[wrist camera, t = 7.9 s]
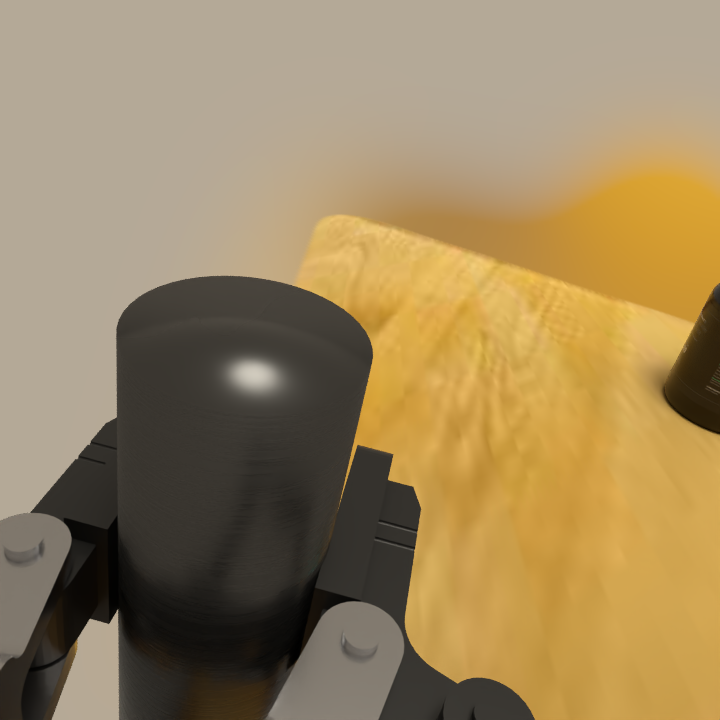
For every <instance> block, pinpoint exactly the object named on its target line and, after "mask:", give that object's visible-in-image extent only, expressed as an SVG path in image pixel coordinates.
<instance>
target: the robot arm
mask: <svg viewBox="0 0 720 720" xmlns="http://www.w3.org/2000/svg"><path fill="white" fill-rule="evenodd" d="M392 458H393V454H390V453H387V452H383V451H379V450H375V449H372V448H368V447H364V446H360V445H358V446H357V449H356V452H355V455H354V459H353V462H352V465H351V469H350V472H349V475H348V479H347V482H346V485H345V489H344V492H343V495H342V499H341V502H340V506H339V509H338V512H337V516H336V520H335V525H334V529H333V533H332V538H331V542H330V546H329V550H328V553H327V556H326V558H325V560H324V562H323V564H322V566H321V569H320V572H319V576H318V579H317V582H316V586H315V590H314V594H313V598H312V603H311V607H310V612H309V616H308V621H307V625H306V629H305V634H304V638H303V643H302V647H301V652H300V656H299V659H298V661H297V663H296V664H295V666H294V668H293V670H292V672H291V674H290V675H289V677H288V679H287V681H286V683H285V685H284V686H283V688H282V690H281V692H280V694H279V696H278V697H277V699H276V701H275V703H274V705H273V707H272V708H271V710H270V712H269V714H268V716H267V718H266V719H265V720H535V719H534V717H533V715H532V713H531V711H530V709H529V708H528V706H527V705H526V703H525V702H524V701H523V700H522V699H521V698H520V696H519V695H517V694H516V693H515V692H514V691H513V690H511V689H510V688H508V687H507V686H505V685H503V684H501V683H499V682H497V681H494V680H491V679H486V678H471V679H466V680H464V681H462V682H460V683H458V684H457V683H456V682H454V681H452V680H451V679H449V678H448V677H446V676H444V675H443V674H441V673H440V672H438V671H437V670H435V669H434V668H432V667H431V666H429V665H428V664H427V663H426V662H425V661H424V660H423V659H421V657H420V656H419V655H418V654H417V653H416V652H415V650H414V648H413V647H412V645H411V644H410V641H409V639H408V637H407V633H406V630H405V611H406V605H407V598H408V591H409V585H410V578H411V571H412V565H413V558H414V550H415V545H416V538H417V531H418V525H419V518H420V512H421V507H420V504H419V502H418V499H417V496H416V493H415V491H414V488H413V487H411V486H407V485H404V484H400V483H396V482H392V481H389V480H388V476H389V472H390V467H391V463H392ZM117 610H118V485H117V418H115V419H113V420H111V421H110V422H108V423H106V424H105V425H104V426H103V427H102V429H101V430H100V431H99V432H98V433H97V435H96V436H95V437H94V438H93V439H92V440H91V443H90V445H87V446H86V448H85V449H84V450H83V451H82V452H81V453H80V455H79V457H78V459H75V461H74V462H73V463H72V464H71V465H70V466H69V468H68V469H67V470H66V471H65V473H64V474H63V475H62V476H61V477H60V478H59V479H58V481H57V482H56V483H55V484H54V486H53V487H52V488H51V489H50V490H49V491H48V492H47V494H46V495H45V496H44V497H43V498H42V500H41V501H40V502H39V503H38V504H37V505H36V507H35V508H34V509H33V510H32V511H31V513H24V514H19V515H14V516H11V517H8V518H6V519H3V520H1V521H0V720H52V717H53V714H54V712H55V708H56V706H57V703H58V701H59V698H60V695H61V693H62V690H63V687H64V684H65V682H66V679H67V677H68V674H69V671H70V669H71V666H72V663H73V660H74V658H75V655H76V651H77V638H78V637H79V635H80V634H81V632H82V630H83V629H84V627H85V626H86V624H87V622H88V620H89V619H94V620H97V621H101V622H104V623H108V624H109V623H110V622H111V620H112V618H113V616H114V615H115V613H116V611H117Z"/></svg>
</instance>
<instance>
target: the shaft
mask: <svg viewBox="0 0 720 720" xmlns="http://www.w3.org/2000/svg"><path fill="white" fill-rule="evenodd" d="M116 337H117V338H116V339H117V485H118V624H119V625H118V626H119V628H118V630H119V720H265V719H266V718H267V716H268V714H269V712H270V710H271V708H272V707H273V705H274V703H275V701H276V699H277V697H278V696H279V694H280V692H281V690H282V688H283V686H284V685H285V683H286V681H287V679H288V677H289V675H290V674H291V672H292V670H293V668H294V666H295V664H296V663H297V661H298V659H299V656H300V652H301V647H302V643H303V638H304V634H305V629H306V625H307V621H308V616H309V612H310V607H311V603H312V598H313V594H314V590H315V586H316V582H317V579H318V576H319V572H320V569H321V566H322V564H323V562H324V560H325V558H326V556H327V553H328V550H329V546H330V542H331V538H332V533H333V529H334V525H335V520H336V516H337V512H338V507H339V503H340V499H341V494H342V490H343V486H344V481H345V477H346V473H347V468H348V464H349V460H350V456H351V451H352V447H353V443H354V438H355V434H356V430H357V425H358V421H359V417H360V412H361V408H362V404H363V399H364V395H365V391H366V386H367V382H368V378H369V373H370V369H371V364H372V359H373V351H372V345H371V342H370V339H369V337H368V335H367V333H366V332H365V330H364V329H363V328H362V326H361V325H360V324H359V323H358V322H357V321H356V320H355V319H354V318H353V317H352V316H351V315H350V314H349V313H347V312H346V311H345V310H344V309H342V308H341V307H339V306H337V305H336V304H334V303H333V302H331V301H329V300H327V299H325V298H323V297H321V296H319V295H317V294H314V293H312V292H310V291H307V290H304V289H301V288H298V287H295V286H292V285H288V284H284V283H281V282H276V281H271V280H266V279H259V278H252V277H240V276H209V277H198V278H191V279H185V280H180V281H176V282H172V283H169V284H166V285H163V286H160V287H157V288H155V289H153V290H151V291H148V292H147V293H145V294H143V295H142V296H140V297H138V298H137V299H136V300H135V301H133V302H132V303H131V304H130V305H129V306H128V307H127V308H126V309H125V310H124V312H123V313H122V315H121V317H120V319H119V322H118V325H117V336H116Z"/></svg>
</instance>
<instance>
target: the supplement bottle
mask: <svg viewBox="0 0 720 720" xmlns="http://www.w3.org/2000/svg"><path fill="white" fill-rule="evenodd" d="M665 394H666V397H667V399H668V401H669V402H670V404H671V405H672V406H673V407H674V408H675V409H676V410H677V411H678V412H679V413H680V414H682V415H683V416H684V417H686V418H687V419H689V420H691V421H692V422H694V423H696V424H698V425H700V426H702V427H704V428H707V429H709V430H712V431H715V432H718V433H720V283H719V284H718V285H717V286H716V287H715V288H714V289H713V291H712V292H711V294H710V296H709V298H708V300H707V302H706V304H705V306H704V308H703V309H702V311H701V313H700V315H699V317H698V319H697V321H696V323H695V325H694V327H693V329H692V331H691V333H690V335H689V337H688V339H687V341H686V343H685V345H684V347H683V348H682V350H681V352H680V354H679V356H678V358H677V360H676V362H675V364H674V366H673V368H672V370H671V372H670V374H669V376H668V378H667V380H666V383H665Z"/></svg>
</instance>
